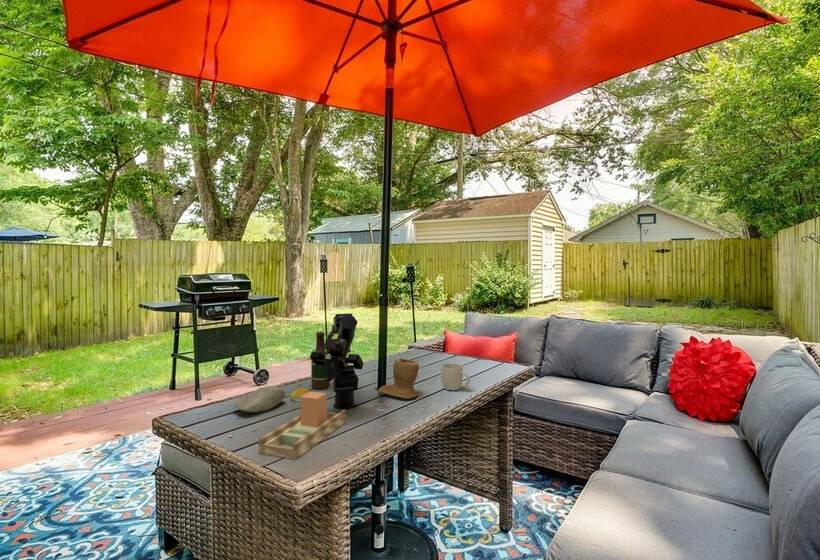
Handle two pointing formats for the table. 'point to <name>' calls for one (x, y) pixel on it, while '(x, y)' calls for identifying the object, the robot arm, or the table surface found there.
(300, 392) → the bread roll
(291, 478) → the table surface
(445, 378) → the mug
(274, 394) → the rock
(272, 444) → the wooden compartment tray
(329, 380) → the robot arm
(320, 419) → the terracotta block
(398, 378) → the brown boot
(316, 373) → the beer bottle
